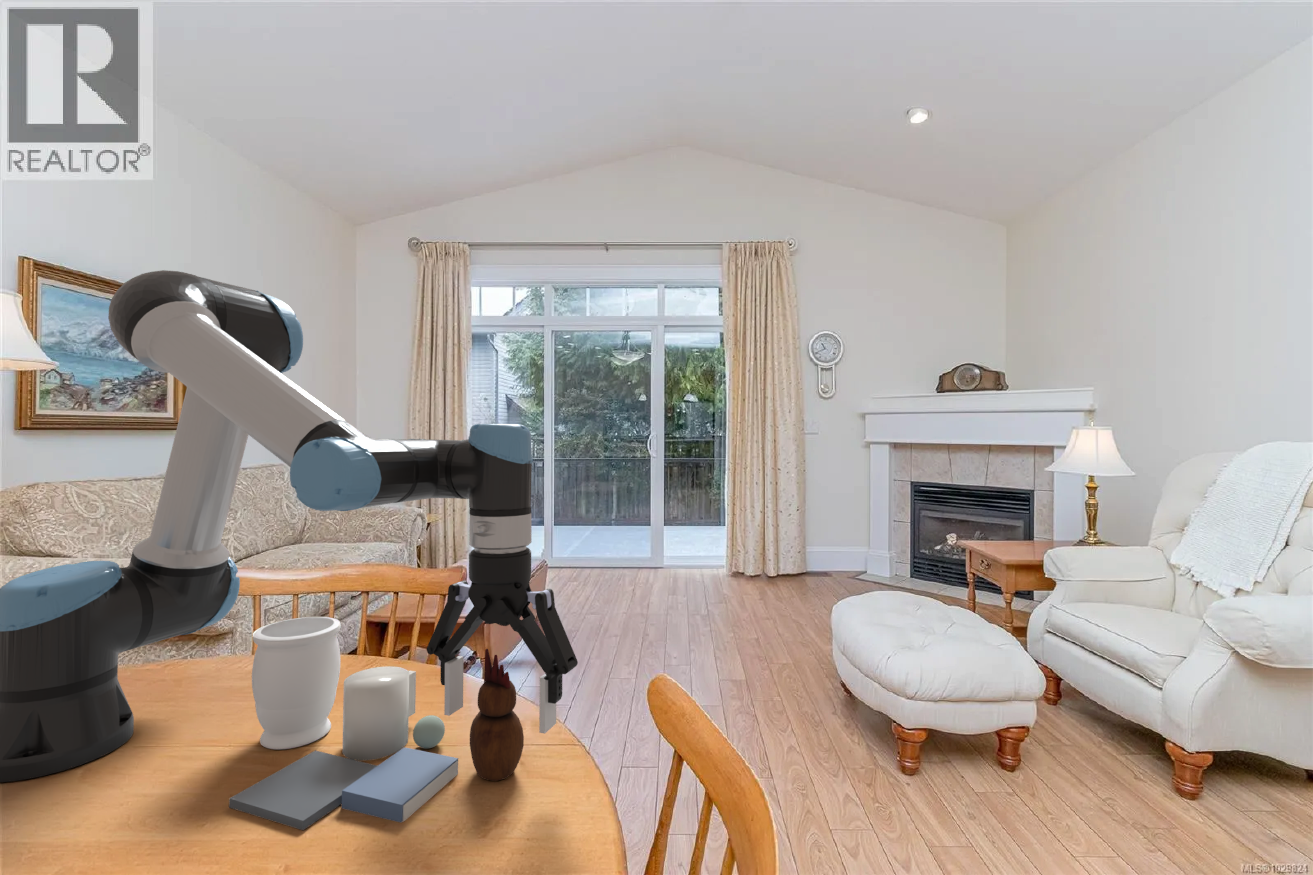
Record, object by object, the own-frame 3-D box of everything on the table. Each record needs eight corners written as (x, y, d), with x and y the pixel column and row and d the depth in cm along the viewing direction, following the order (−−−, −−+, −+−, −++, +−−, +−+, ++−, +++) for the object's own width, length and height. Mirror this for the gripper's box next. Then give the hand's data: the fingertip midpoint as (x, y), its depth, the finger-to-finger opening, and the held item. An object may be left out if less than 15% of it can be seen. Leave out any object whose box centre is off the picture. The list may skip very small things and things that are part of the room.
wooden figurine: (462, 769, 75) (464, 649, 75) (505, 754, 78) (507, 639, 78) (485, 794, 69) (487, 665, 69) (529, 776, 73) (531, 654, 73)
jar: (298, 760, 76) (300, 642, 76) (230, 750, 78) (232, 635, 78) (355, 721, 86) (357, 618, 87) (294, 714, 89) (296, 613, 89)
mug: (328, 753, 78) (329, 684, 78) (389, 718, 88) (390, 656, 88) (376, 765, 75) (377, 694, 75) (434, 727, 85) (435, 664, 85)
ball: (405, 751, 79) (406, 720, 79) (426, 737, 82) (427, 708, 82) (430, 757, 77) (431, 726, 77) (450, 742, 81) (451, 712, 81)
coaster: (228, 807, 66) (229, 798, 66) (315, 758, 77) (315, 750, 77) (302, 830, 62) (303, 820, 63) (383, 775, 73) (383, 767, 73)
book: (341, 812, 66) (342, 790, 66) (403, 766, 76) (404, 747, 76) (401, 827, 64) (402, 805, 64) (458, 778, 74) (459, 758, 74)
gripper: (397, 546, 75) (396, 716, 74) (577, 560, 66) (576, 751, 66) (438, 537, 82) (437, 692, 82) (604, 549, 74) (603, 721, 73)
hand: (499, 719), depth 74 cm, fingers open, 13 cm apart
